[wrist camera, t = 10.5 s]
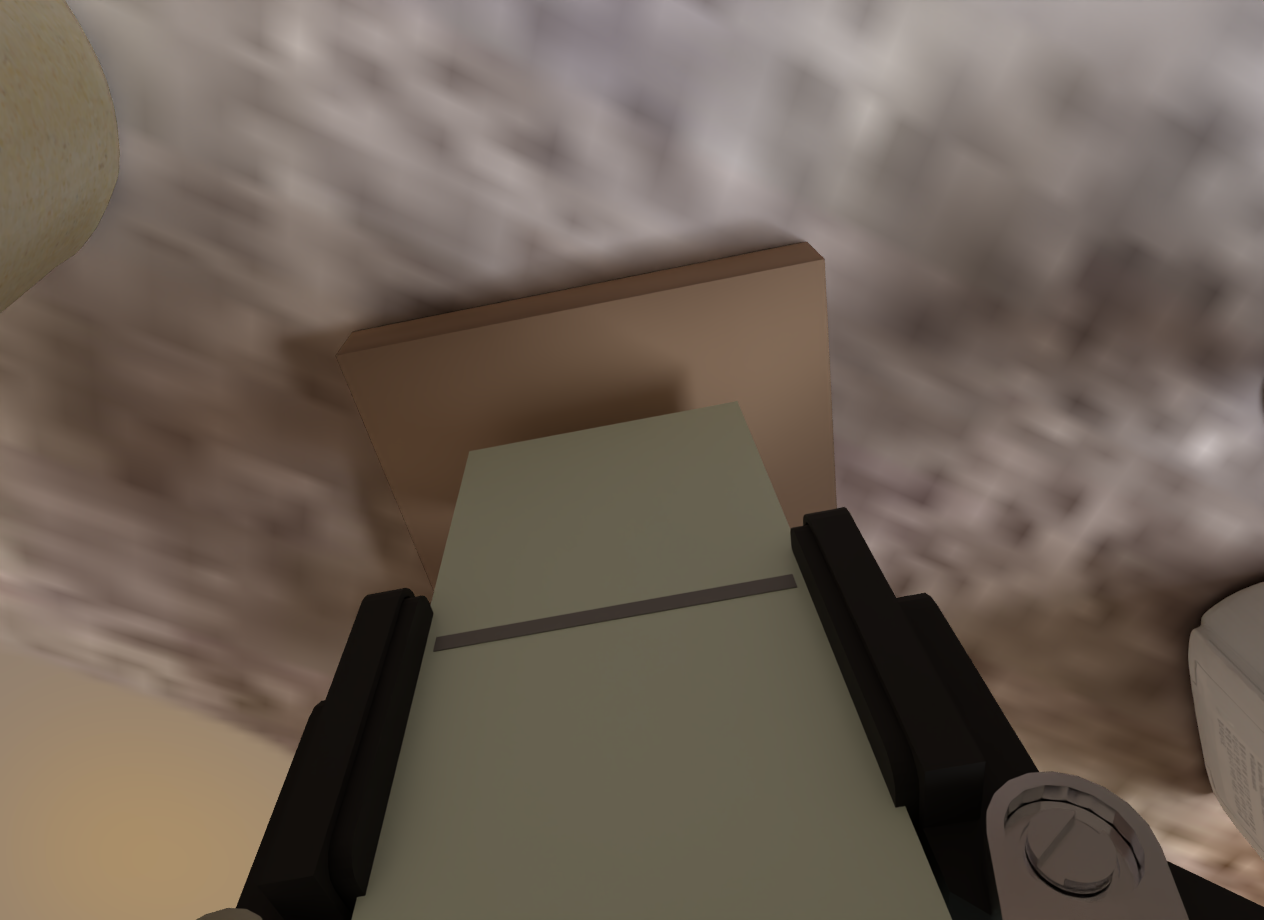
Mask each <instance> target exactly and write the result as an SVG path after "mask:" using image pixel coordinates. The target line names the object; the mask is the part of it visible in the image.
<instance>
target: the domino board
mask: <svg viewBox="0 0 1264 920" xmlns="http://www.w3.org/2000/svg"><path fill="white" fill-rule="evenodd" d="M336 358H337V361H338V363H339V365H340V368H341V370H342V373H343V375H344V377H345V380H346V382H347V385H348V387H349V389H350V392H351V394H352V397H353V399H354V401H355V404H356V406H357V409H358V411H359V413H360V416H361V418H362V421H363V423H364V425H365V428H366V430H367V432H368V435H369V437H370V440H371V442H372V444H373V447H374V449H375V452H376V454H377V456H378V459H379V461H380V464H381V466H382V468H383V471H384V473H385V476H386V478H387V480H388V483H389V485H390V488H391V490H392V492H393V495H394V497H395V500H396V502H397V504H398V507H399V509H400V511H401V514H402V516H403V519H404V521H405V523H406V526H407V528H408V531H409V533H410V535H411V538H412V540H413V543H414V545H415V547H416V550H417V552H418V555H419V557H420V559H421V562H422V564H423V567H424V569H425V571H426V574H427V576H428V578H429V581H430V583H431V586H432V588H433V590H435V586H436V582H437V578H438V574H439V570H440V566H441V562H442V558H443V554H444V550H445V546H446V542H447V538H448V534H449V530H450V526H451V522H452V518H453V514H454V510H455V506H456V502H457V498H458V494H459V490H460V486H461V482H462V478H463V474H464V470H465V466H466V463H467V459H468V455H469V451H473V450H479V449H484V448H489V447H495V446H500V445H505V444H511V443H516V442H521V441H527V440H532V439H537V438H543V437H548V436H553V435H559V434H564V433H569V432H575V431H580V430H585V429H591V428H596V427H601V426H607V425H612V424H617V423H623V422H628V421H633V420H639V419H644V418H650V417H655V416H660V415H666V414H671V413H676V412H682V411H687V410H692V409H698V408H703V407H708V406H714V405H719V404H724V403H730V402H735V401H738V404H739V406H740V409H741V411H742V413H743V416H744V418H745V421H746V423H747V425H748V428H749V430H750V433H751V435H752V438H753V440H754V442H755V445H756V447H757V450H758V452H759V454H760V457H761V459H762V462H763V464H764V467H765V469H766V471H767V474H768V476H769V479H770V481H771V483H772V486H773V488H774V491H775V493H776V496H777V498H778V500H779V503H780V505H781V508H782V510H783V512H784V515H785V517H786V520H787V522H788V525H789V527H790V529H791V528H792V527H798V526H803V516H804V515H805V514H809V513H815V512H820V511H826V510H831V509H837V503H836V483H835V462H834V442H833V421H832V401H831V380H830V360H829V340H828V319H827V299H826V278H825V259H824V258H823V257H822V256H821V255H820V254H819V253H818V252H817V251H816V250H815V249H814V248H813V247H812V246H811V245H810V244H809V243H808V242H803V243H798V244H793V245H788V246H783V247H778V248H773V249H768V250H763V251H757V252H752V253H747V254H742V255H737V256H732V257H727V258H722V259H717V260H712V261H707V262H702V263H697V264H692V265H687V266H682V267H677V268H672V269H667V270H662V271H657V272H652V273H647V274H642V275H637V276H632V277H627V278H622V279H617V280H612V281H607V282H602V283H597V284H592V285H586V286H581V287H576V288H571V289H566V290H561V291H556V292H551V293H546V294H541V295H536V296H531V297H526V298H521V299H516V300H511V301H506V302H501V303H496V304H491V305H486V306H481V307H476V308H471V309H466V310H461V311H456V312H451V313H446V314H441V315H436V316H431V317H426V318H421V319H416V320H410V321H405V322H400V323H395V324H390V325H385V326H380V327H375V328H370V329H365V330H360V331H355V332H352V333H351V335H350V336H349V338H348V339H347V340H346V342H345V343H344V344H343V346H342V347H341V349H340V350H339V351H338V353H337V354H336Z"/></svg>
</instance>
